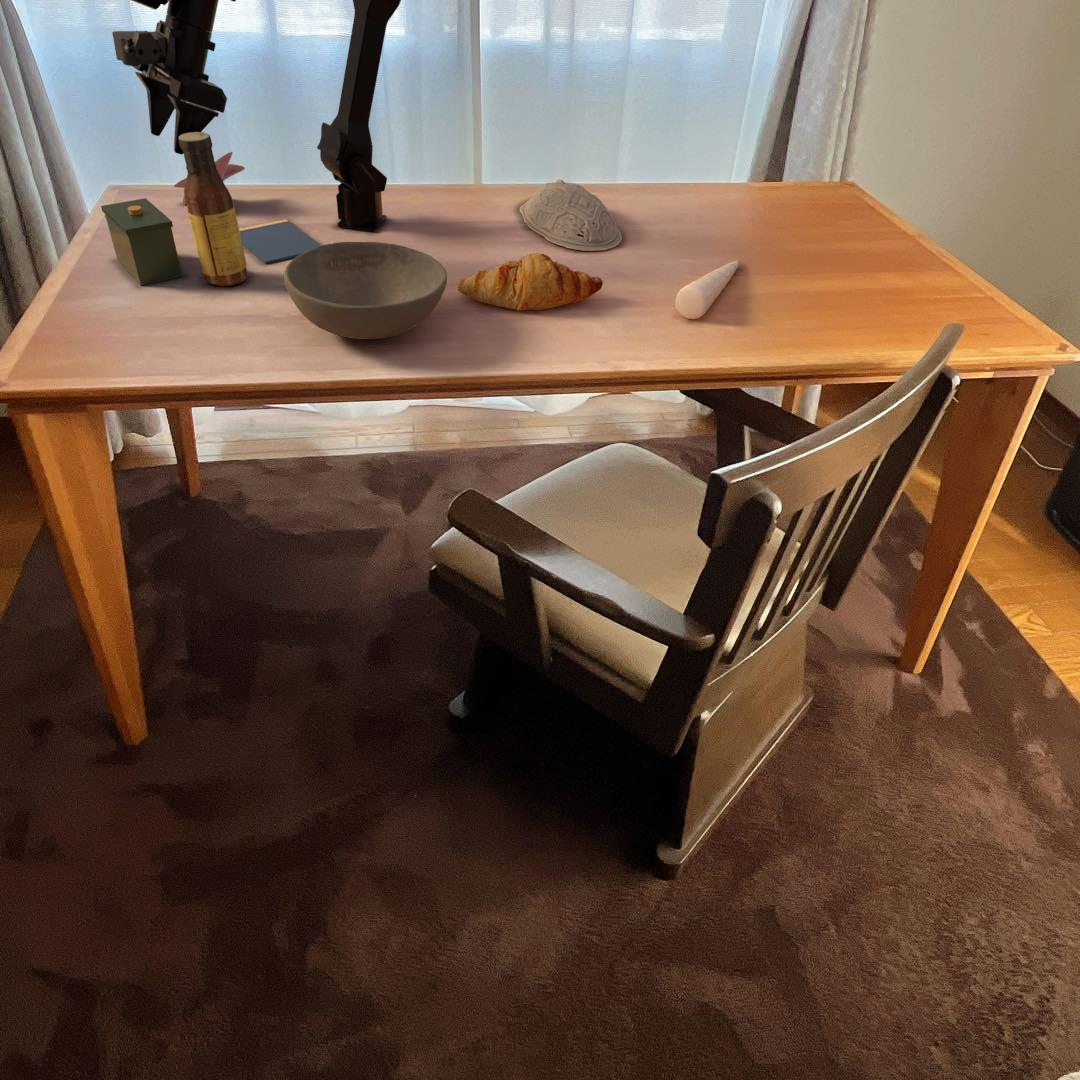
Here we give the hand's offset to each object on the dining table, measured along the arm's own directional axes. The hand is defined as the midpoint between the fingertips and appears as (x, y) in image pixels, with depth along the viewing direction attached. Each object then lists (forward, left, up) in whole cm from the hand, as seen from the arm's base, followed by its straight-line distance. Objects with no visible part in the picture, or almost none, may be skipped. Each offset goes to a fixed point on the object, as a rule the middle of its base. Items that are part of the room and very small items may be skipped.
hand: (166, 144), depth 122 cm
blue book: (-9, -10, -17) cm, 22 cm away
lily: (+7, -21, -17) cm, 27 cm away
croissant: (-52, -3, -17) cm, 55 cm away
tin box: (+4, +5, -17) cm, 18 cm away
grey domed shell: (-52, -34, -17) cm, 65 cm away
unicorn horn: (-78, -14, -17) cm, 81 cm away
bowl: (-33, +12, -17) cm, 39 cm away
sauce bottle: (-8, +5, -17) cm, 19 cm away
